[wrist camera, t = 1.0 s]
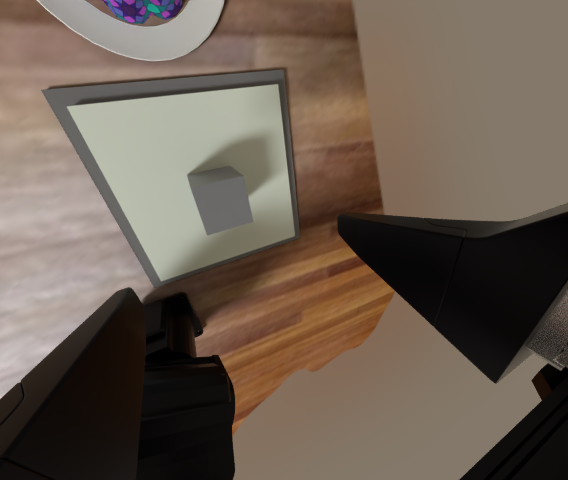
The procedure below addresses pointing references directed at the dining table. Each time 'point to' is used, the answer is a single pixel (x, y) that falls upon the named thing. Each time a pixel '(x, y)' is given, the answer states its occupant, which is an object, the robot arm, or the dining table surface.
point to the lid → (195, 172)
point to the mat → (157, 89)
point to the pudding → (136, 39)
